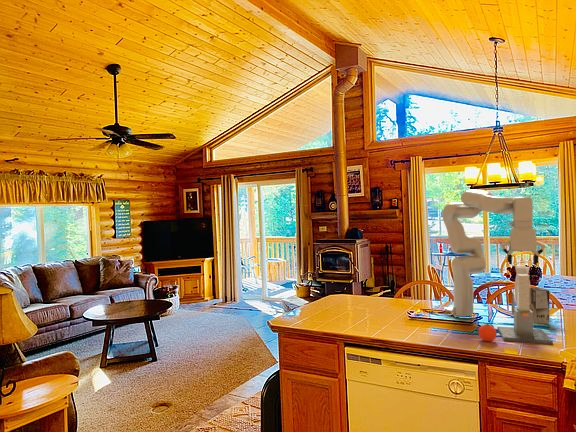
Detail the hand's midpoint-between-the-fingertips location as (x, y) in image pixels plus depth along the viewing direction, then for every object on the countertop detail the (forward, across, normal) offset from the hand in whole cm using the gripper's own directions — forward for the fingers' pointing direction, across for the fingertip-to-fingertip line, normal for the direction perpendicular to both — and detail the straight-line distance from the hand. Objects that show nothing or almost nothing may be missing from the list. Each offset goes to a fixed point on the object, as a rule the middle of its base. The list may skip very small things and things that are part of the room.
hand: (522, 264), depth 186 cm
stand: (+32, 0, 0) cm, 32 cm away
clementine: (+32, -15, -12) cm, 37 cm away
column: (+24, 0, 0) cm, 24 cm away
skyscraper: (+32, +8, +46) cm, 57 cm away
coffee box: (+32, +13, +32) cm, 47 cm away
